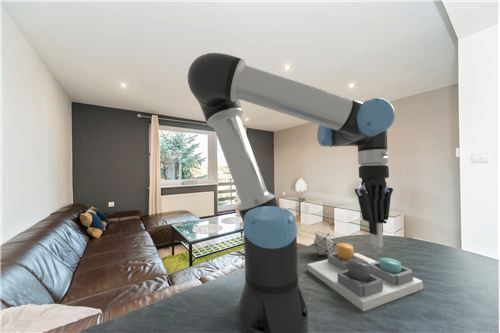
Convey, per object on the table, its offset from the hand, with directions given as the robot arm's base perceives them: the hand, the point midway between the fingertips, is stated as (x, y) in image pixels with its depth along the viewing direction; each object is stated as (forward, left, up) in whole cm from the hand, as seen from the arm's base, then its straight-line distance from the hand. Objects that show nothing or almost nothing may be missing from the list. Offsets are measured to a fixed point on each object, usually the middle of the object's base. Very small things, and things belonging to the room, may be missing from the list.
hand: (376, 244), depth 55 cm
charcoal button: (-10, -2, -6) cm, 12 cm away
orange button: (-4, +8, -6) cm, 11 cm away
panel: (-4, +3, -10) cm, 11 cm away
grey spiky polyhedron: (-2, +20, -10) cm, 22 cm away
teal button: (+2, -2, -8) cm, 8 cm away
